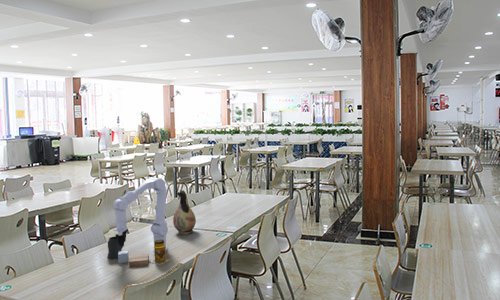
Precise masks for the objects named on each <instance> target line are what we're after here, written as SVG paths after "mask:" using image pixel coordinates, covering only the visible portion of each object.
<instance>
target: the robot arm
mask: <svg viewBox="0 0 500 300" xmlns="http://www.w3.org/2000/svg"><path fill="white" fill-rule="evenodd" d="M149 189H150V190H151V189H152V190H154V191H155V192H156V193H157V196H156V205H155V216H154V217H155V219H154V220H153V221H152V224H151V226H150V231H151V233H152V235H153V247H154V246H155V243H154V242H155V241H156V240H164V245H165V252H167V251H168V245H167V234H168V231H169V229H168V223H167V220H166V218H165V216H166V206H167V195H168V190H167V186H166V181H165V180H164V179H163V178H160V177H159V178H157V177H154V176H151V177H148V179H146V180H145V181H144V182H143V183H142V184H141V185H139V186H138V187H137V188H135V189H134V190H133V191H132V190H130V191H127V192H126V194H124V195H122V196H120V197H119V198H118V199H115V200H114V201H113V204H112V208H113V209H114V215H115V216H114V217H115V228H113V231H116V232H117V234H114V235H115V236H116V238H117V240H118V243H119V246H120V247H123V248H124V246H125V242H126V241H127V233H128V231H129V228H128V226H127V224H128V223H127V208H128V206H129V205H130V204H131V203H134V201H136V200H137V198H138V196H140V194H143V193H144V192H146V190H149ZM115 236H114V237H115ZM152 252H153V253H154V250H153V251H152Z"/></svg>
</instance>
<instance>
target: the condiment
mask: <svg viewBox="0 0 500 300" xmlns="http://www.w3.org/2000/svg"><path fill="white" fill-rule="evenodd" d="M154 243H155V246H154V245H153V251H154V252H153V253H154V259H153V260H151V261H150V263H152V264H156V265H163V264H165V263H167V262H168V261H170V259H167V254H166V252H167V251H165V245H164V240H156V241H155V242H154V241H153V244H154Z"/></svg>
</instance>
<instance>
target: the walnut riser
mask: <svg viewBox="0 0 500 300" xmlns="http://www.w3.org/2000/svg"><path fill="white" fill-rule="evenodd" d="M149 255H150V254H149V253H145V254H134V255H133V254H132V255H130V256H129V260H128V268H134V267H145V266H149V263H150V256H149Z"/></svg>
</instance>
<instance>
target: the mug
mask: <svg viewBox="0 0 500 300" xmlns="http://www.w3.org/2000/svg"><path fill="white" fill-rule="evenodd" d="M123 248H124V246H123V247H120V246H119V243H118V240H117V238H116V236H110V237H109V238H108V240H107V250H108V252H107V256H106V258H107V259H108V260H118V253H119V251H123Z"/></svg>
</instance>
